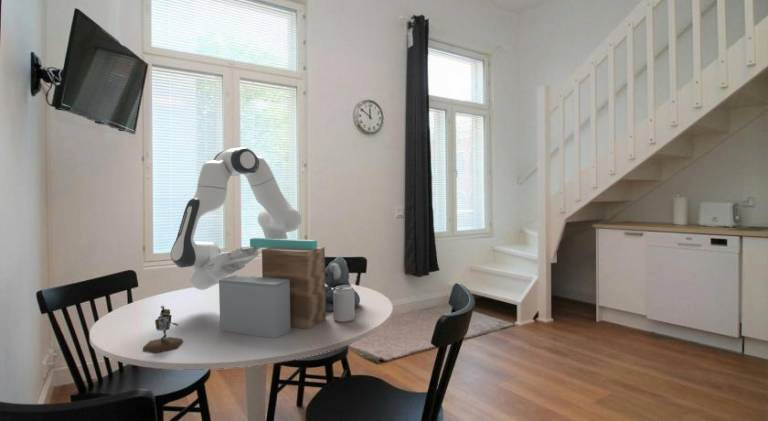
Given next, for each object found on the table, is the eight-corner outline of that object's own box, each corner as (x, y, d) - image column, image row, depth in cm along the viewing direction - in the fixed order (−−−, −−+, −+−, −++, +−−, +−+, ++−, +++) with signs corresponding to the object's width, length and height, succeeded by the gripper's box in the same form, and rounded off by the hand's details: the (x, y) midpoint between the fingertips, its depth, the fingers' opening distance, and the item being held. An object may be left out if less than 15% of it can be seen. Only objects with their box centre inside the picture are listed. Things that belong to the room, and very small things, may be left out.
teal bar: (255, 245, 154) (255, 237, 154) (317, 248, 145) (316, 240, 145) (250, 246, 151) (249, 238, 151) (312, 249, 142) (312, 241, 142)
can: (345, 315, 154) (345, 283, 153) (358, 319, 148) (358, 286, 148) (329, 320, 148) (328, 286, 148) (342, 324, 143) (342, 290, 143)
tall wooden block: (283, 314, 156) (281, 245, 155) (325, 318, 150) (324, 247, 149) (263, 323, 145) (261, 249, 144) (308, 329, 139) (307, 251, 137)
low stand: (236, 323, 145) (235, 275, 144) (290, 330, 138) (289, 279, 137) (220, 330, 138) (218, 279, 137) (276, 338, 130) (275, 284, 129)
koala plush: (321, 300, 175) (320, 254, 175) (363, 301, 174) (363, 255, 173) (310, 312, 158) (309, 261, 157) (356, 313, 156) (356, 262, 155)
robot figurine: (173, 352, 119) (172, 311, 119) (138, 354, 118) (137, 312, 117) (185, 339, 130) (184, 301, 130) (153, 340, 129) (152, 302, 128)
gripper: (200, 261, 148) (226, 243, 143) (239, 253, 167) (263, 237, 163) (207, 277, 147) (234, 259, 143) (245, 267, 166) (270, 251, 162)
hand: (250, 247), depth 153 cm, fingers open, 8 cm apart
